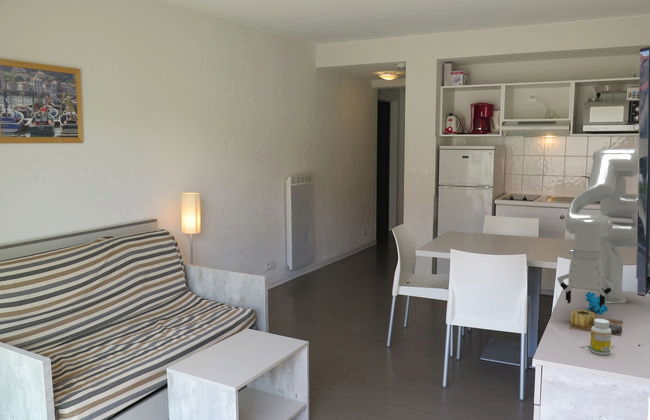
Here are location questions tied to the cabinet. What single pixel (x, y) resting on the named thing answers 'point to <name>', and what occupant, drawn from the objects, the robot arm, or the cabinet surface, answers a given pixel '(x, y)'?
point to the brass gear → (582, 318)
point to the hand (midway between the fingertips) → (584, 304)
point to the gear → (595, 303)
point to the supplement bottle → (600, 337)
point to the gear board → (613, 325)
